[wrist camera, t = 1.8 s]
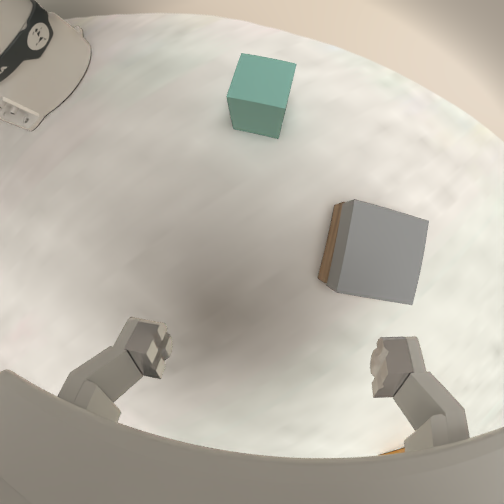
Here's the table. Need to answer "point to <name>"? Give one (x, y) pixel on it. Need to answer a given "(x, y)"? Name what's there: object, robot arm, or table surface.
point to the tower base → (330, 244)
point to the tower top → (377, 253)
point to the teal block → (260, 94)
